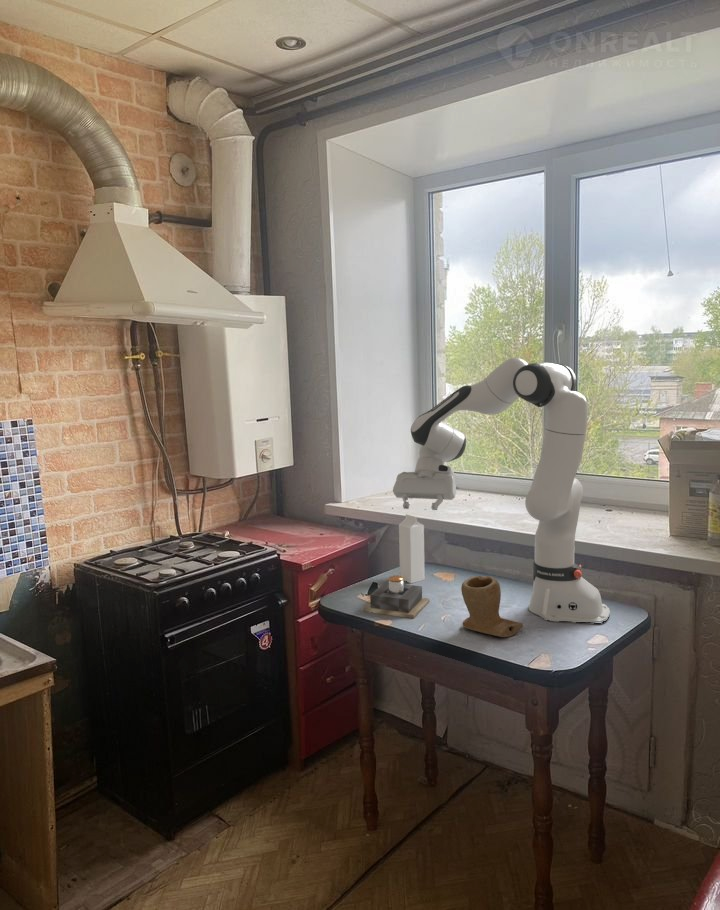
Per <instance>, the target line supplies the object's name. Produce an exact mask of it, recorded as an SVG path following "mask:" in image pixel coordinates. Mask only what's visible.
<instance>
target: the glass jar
mask: <svg viewBox="0 0 720 910" xmlns="http://www.w3.org/2000/svg"><path fill="white" fill-rule="evenodd" d="M388 582H389V593H390V594H398V595H403V594H404V584H405V581H404V578H403V576H400V574H399V575H397V574H396V575H390V576H389V577H388Z"/></svg>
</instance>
